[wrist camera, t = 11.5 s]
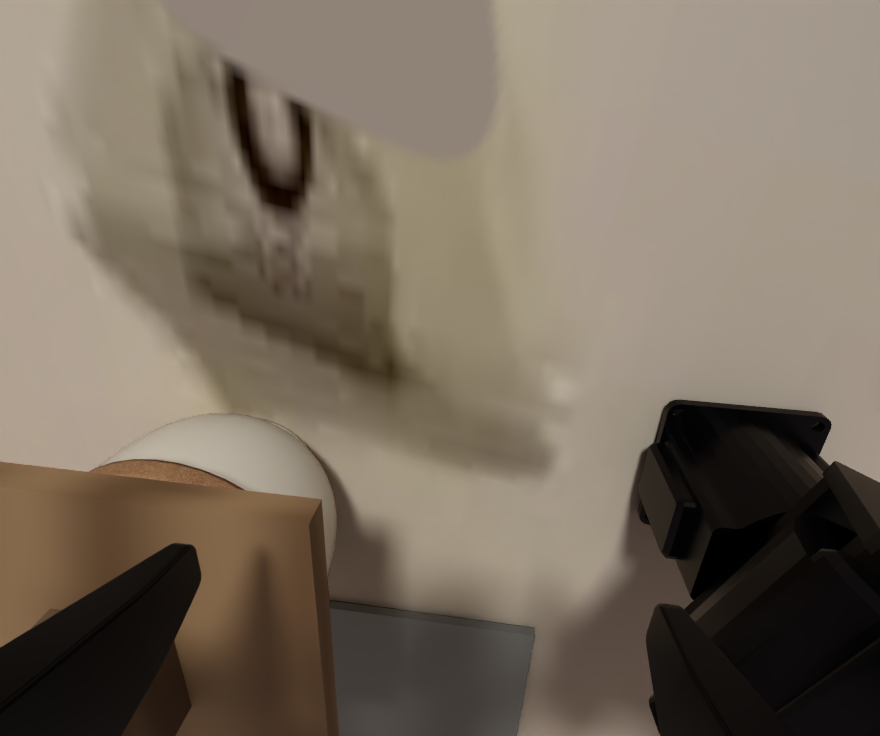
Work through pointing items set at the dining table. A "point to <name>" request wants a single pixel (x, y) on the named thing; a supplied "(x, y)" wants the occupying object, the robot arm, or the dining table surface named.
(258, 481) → the lidded jar
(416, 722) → the mat
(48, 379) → the dining table surface
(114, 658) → the robot arm
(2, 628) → the lid
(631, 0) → the dining table surface
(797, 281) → the dining table surface
